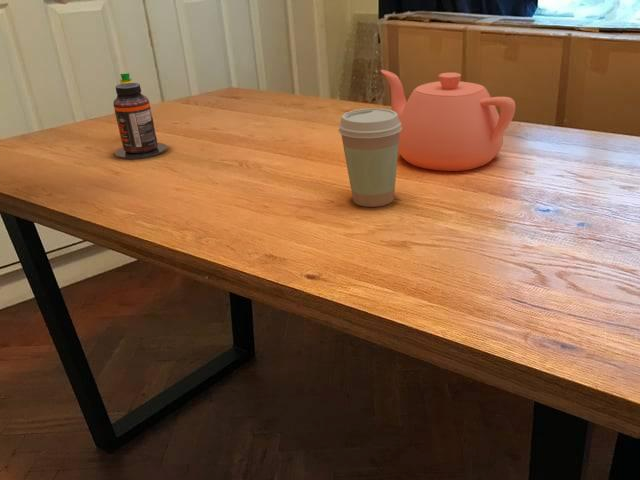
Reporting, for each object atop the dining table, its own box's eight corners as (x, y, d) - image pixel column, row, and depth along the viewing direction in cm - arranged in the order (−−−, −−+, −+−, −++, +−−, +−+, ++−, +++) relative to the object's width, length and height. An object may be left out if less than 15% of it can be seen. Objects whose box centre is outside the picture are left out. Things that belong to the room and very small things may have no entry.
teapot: (354, 157, 111) (349, 75, 105) (412, 133, 122) (411, 58, 116) (484, 184, 97) (487, 92, 91) (535, 154, 109) (542, 70, 102)
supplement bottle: (118, 149, 118) (103, 85, 113) (149, 142, 122) (136, 79, 116) (132, 156, 114) (117, 90, 109) (164, 149, 118) (151, 84, 112)
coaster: (104, 155, 117) (103, 153, 117) (142, 142, 124) (142, 140, 124) (140, 162, 113) (139, 159, 113) (178, 147, 120) (177, 145, 120)
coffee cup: (395, 186, 98) (393, 105, 92) (410, 207, 91) (408, 119, 85) (339, 192, 97) (333, 110, 91) (348, 214, 89) (343, 125, 84)
